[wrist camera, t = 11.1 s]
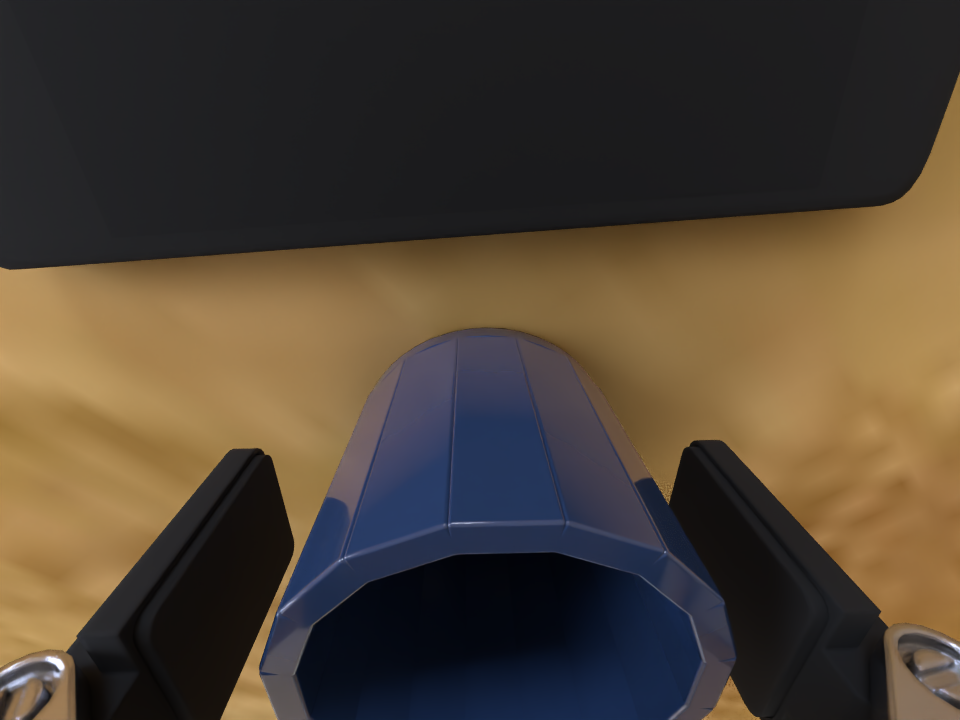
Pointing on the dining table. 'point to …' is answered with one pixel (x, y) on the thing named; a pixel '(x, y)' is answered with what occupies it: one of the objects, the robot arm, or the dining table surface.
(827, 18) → the cell phone
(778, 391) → the dining table surface
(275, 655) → the blue plastic cup
